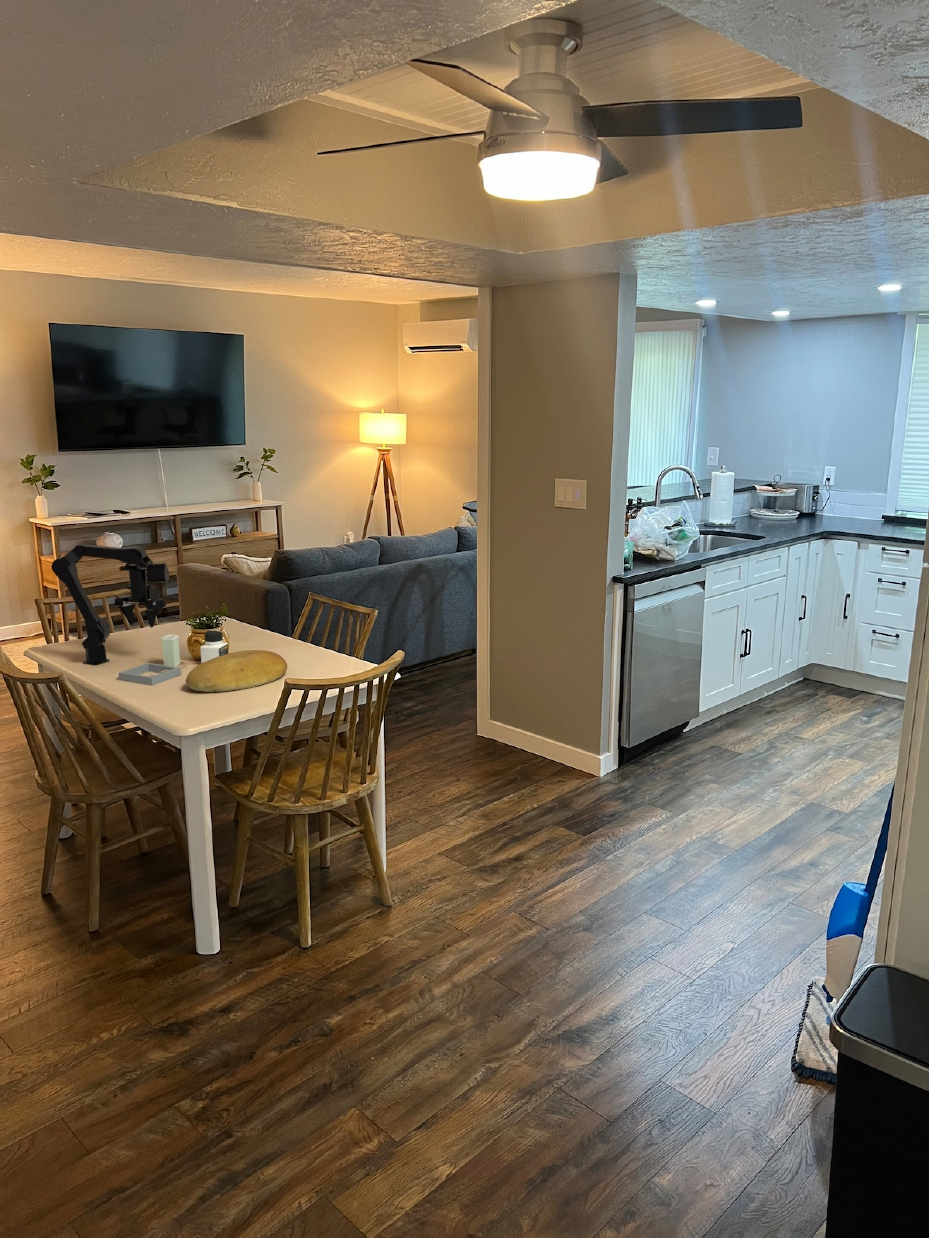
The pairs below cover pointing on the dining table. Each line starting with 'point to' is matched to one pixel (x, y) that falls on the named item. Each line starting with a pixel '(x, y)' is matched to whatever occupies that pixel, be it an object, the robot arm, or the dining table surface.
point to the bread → (237, 671)
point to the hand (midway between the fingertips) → (142, 626)
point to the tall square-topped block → (171, 650)
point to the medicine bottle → (213, 645)
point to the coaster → (178, 665)
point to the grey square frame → (134, 676)
